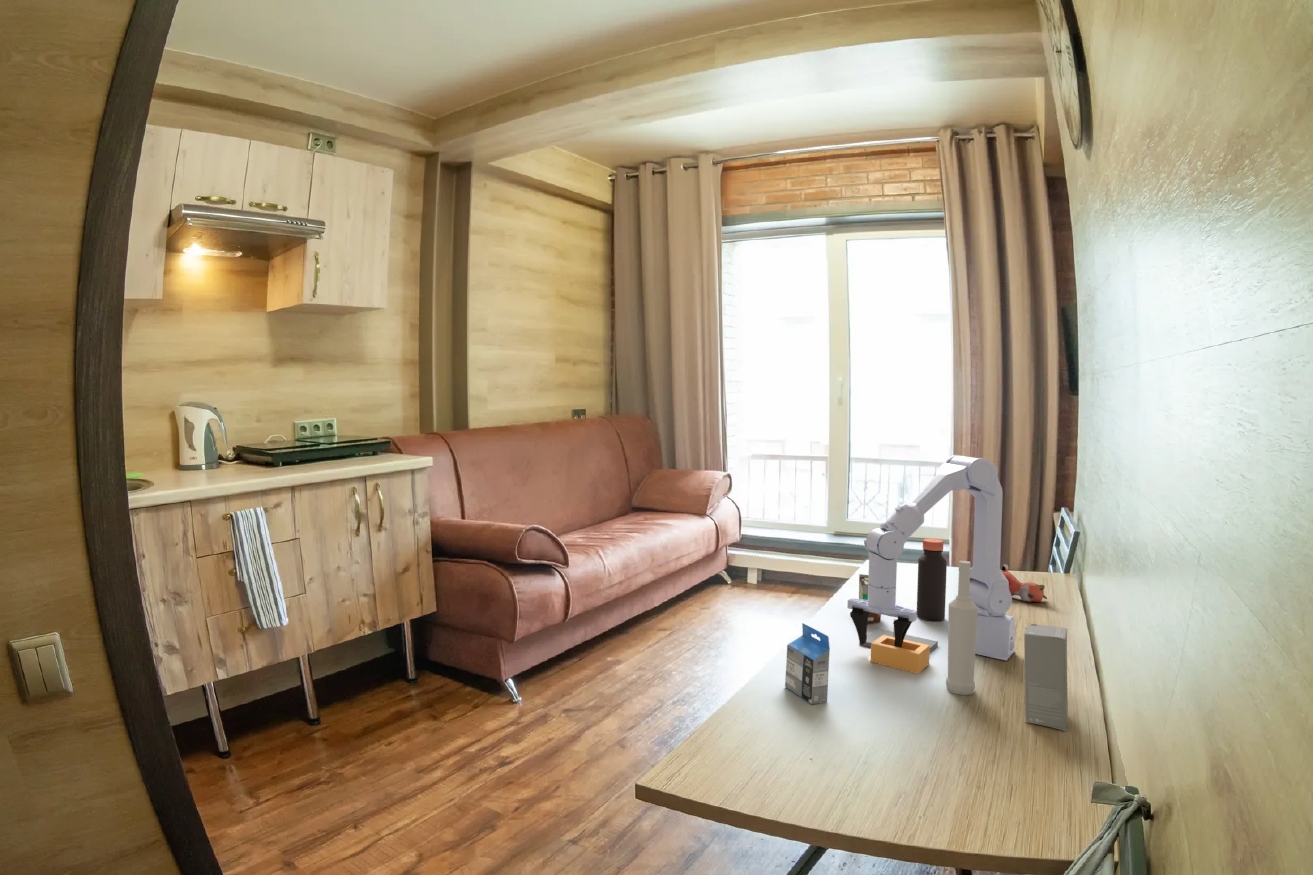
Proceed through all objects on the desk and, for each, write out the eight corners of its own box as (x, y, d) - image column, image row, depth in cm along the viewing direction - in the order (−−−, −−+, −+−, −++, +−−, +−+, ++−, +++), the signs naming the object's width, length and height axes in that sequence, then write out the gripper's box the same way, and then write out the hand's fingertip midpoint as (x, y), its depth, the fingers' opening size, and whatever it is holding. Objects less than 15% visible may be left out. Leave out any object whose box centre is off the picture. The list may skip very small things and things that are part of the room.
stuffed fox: (1002, 567, 209) (1048, 570, 202) (1000, 604, 204) (1047, 608, 197) (998, 557, 203) (1045, 560, 197) (995, 594, 198) (1044, 598, 192)
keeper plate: (937, 645, 161) (938, 619, 161) (921, 659, 152) (922, 631, 152) (877, 632, 170) (878, 607, 169) (859, 644, 161) (860, 618, 161)
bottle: (973, 686, 138) (978, 560, 137) (976, 697, 133) (981, 566, 132) (944, 682, 140) (949, 557, 138) (946, 693, 135) (951, 563, 134)
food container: (888, 627, 174) (889, 587, 173) (862, 625, 175) (863, 585, 174) (882, 612, 186) (883, 575, 185) (858, 610, 187) (859, 573, 186)
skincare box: (1066, 732, 119) (1070, 640, 119) (1019, 721, 123) (1023, 632, 122) (1068, 713, 127) (1072, 626, 126) (1023, 704, 130) (1027, 619, 130)
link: (929, 663, 150) (929, 645, 150) (918, 673, 145) (918, 654, 144) (882, 652, 156) (883, 634, 156) (870, 661, 151) (871, 643, 151)
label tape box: (784, 686, 137) (785, 624, 136) (801, 683, 139) (803, 622, 138) (811, 705, 129) (812, 639, 128) (829, 701, 131) (831, 636, 130)
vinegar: (916, 619, 180) (918, 541, 179) (916, 612, 186) (919, 536, 185) (944, 622, 178) (947, 544, 176) (944, 615, 184) (947, 539, 183)
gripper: (842, 582, 154) (840, 644, 154) (909, 595, 145) (907, 660, 145) (855, 576, 159) (853, 636, 160) (921, 588, 150) (918, 651, 151)
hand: (880, 647), depth 153 cm, fingers open, 7 cm apart
